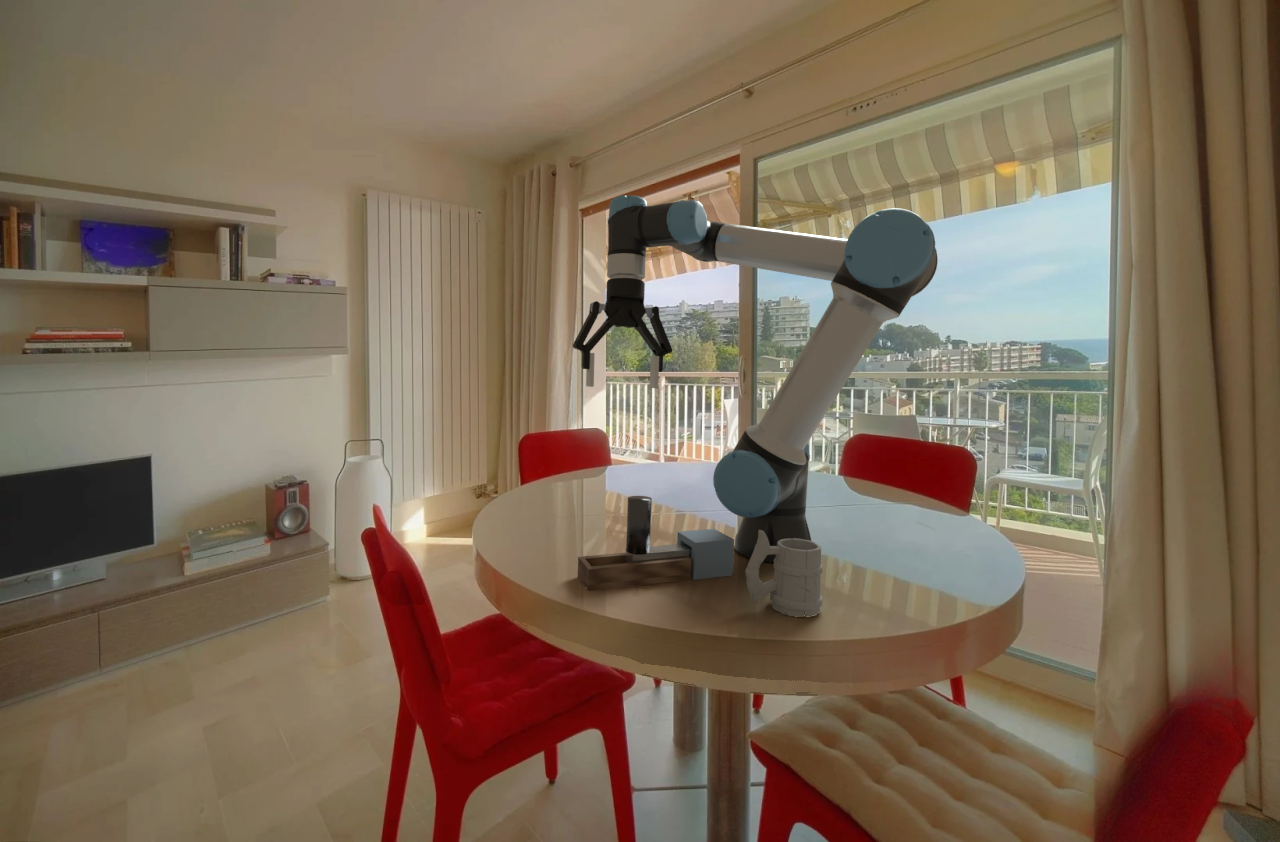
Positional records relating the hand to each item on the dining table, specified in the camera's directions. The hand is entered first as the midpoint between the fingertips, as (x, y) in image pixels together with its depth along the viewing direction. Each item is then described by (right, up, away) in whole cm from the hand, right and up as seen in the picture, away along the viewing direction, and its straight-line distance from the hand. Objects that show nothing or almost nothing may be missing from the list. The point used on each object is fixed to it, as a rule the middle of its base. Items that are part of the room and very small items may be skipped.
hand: (622, 387), depth 112 cm
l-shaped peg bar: (+9, -32, -15) cm, 37 cm away
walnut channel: (+3, -33, -17) cm, 38 cm away
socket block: (+15, -33, -13) cm, 39 cm away
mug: (+25, -35, -28) cm, 51 cm away
